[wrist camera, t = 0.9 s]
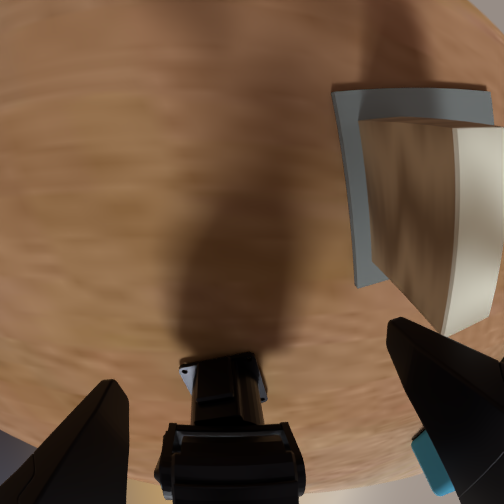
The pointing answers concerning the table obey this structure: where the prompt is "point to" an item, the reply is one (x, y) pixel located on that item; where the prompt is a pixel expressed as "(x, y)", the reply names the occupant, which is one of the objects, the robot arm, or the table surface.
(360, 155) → the mat
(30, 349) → the table surface
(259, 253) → the table surface
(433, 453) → the data package
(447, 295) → the slab
